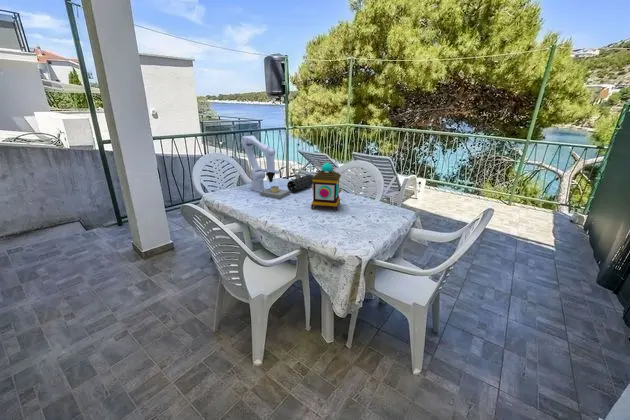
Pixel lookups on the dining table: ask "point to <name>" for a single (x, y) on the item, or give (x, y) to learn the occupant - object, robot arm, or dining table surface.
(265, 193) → the socket plate
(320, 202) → the decorative lantern
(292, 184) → the muzzle brake
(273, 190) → the plug
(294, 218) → the dining table surface
